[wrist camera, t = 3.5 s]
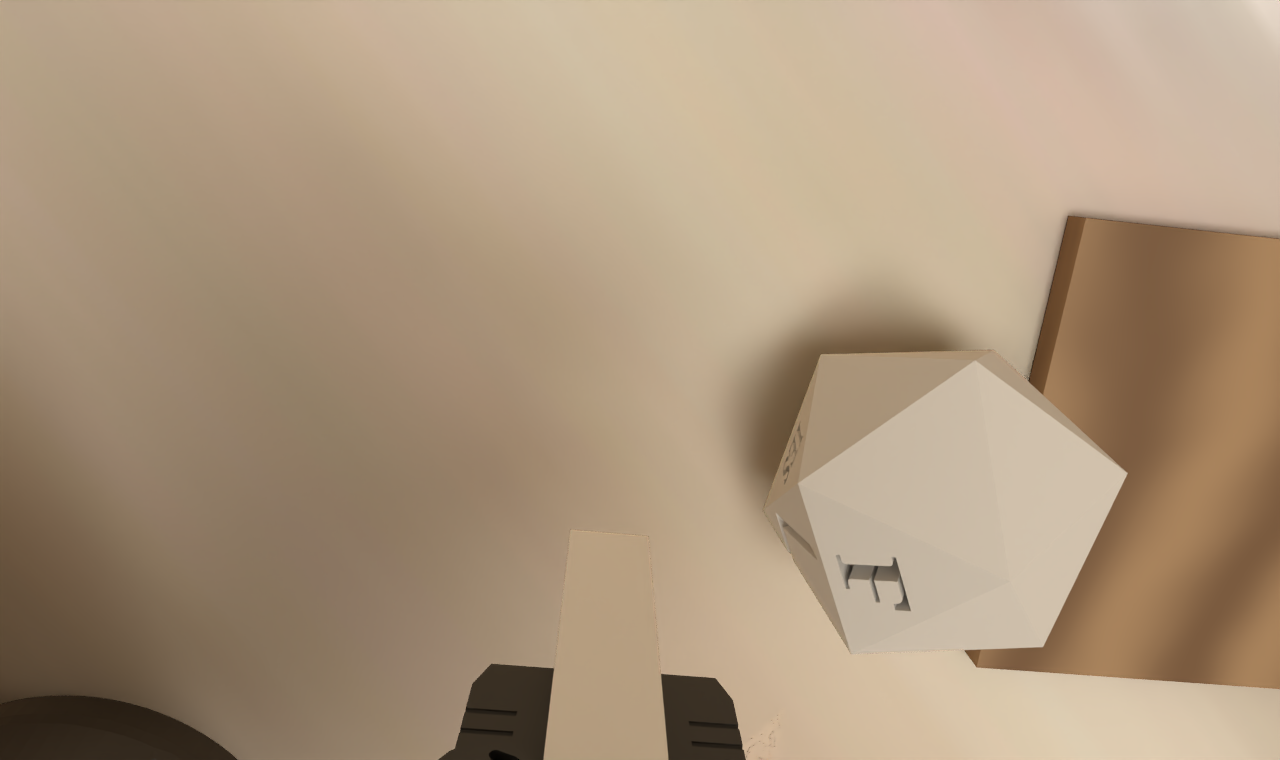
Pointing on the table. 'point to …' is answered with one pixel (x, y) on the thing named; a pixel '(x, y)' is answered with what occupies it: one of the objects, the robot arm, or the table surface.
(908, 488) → the die
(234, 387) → the table surface
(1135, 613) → the board
